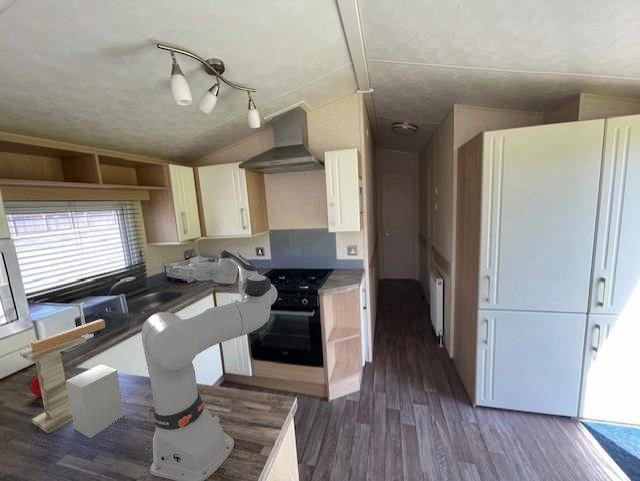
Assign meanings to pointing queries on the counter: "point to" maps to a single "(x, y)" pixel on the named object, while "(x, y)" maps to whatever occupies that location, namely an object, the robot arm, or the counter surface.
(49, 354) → the tall stand
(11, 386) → the counter surface
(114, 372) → the pedestal
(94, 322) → the bar
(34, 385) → the fruit
